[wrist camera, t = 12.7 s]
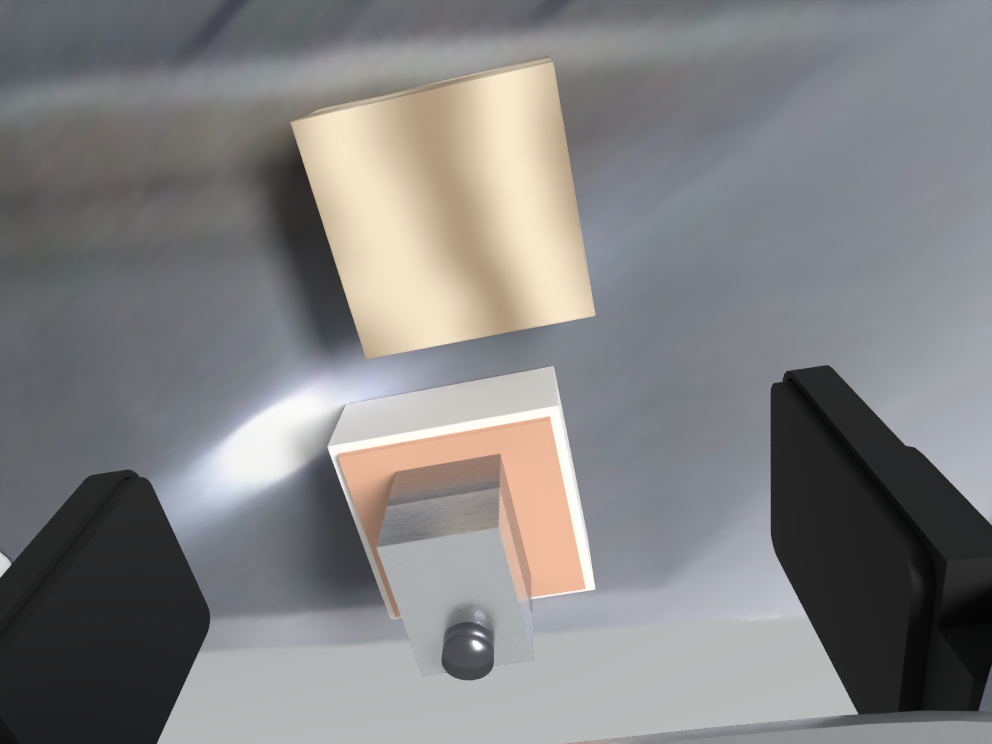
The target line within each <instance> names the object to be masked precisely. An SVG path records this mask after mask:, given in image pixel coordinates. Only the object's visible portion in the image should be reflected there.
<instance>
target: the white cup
mask: <svg viewBox="0 0 992 744" xmlns="http://www.w3.org/2000/svg"><path fill="white" fill-rule="evenodd" d="M10 566H11V562H10V561H9V559H8V558H7V557H6V556H4V555H3V554H2V553H1V552H0V577H1V576H2V575H3V574H4V573H5V571H6V570H7V569H8V568H9V567H10Z"/></svg>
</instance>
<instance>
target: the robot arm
mask: <svg viewBox="0 0 992 744" xmlns="http://www.w3.org/2000/svg"><path fill="white" fill-rule="evenodd" d="M771 537H772V543H773V547H774V550H775V553H776V555H777V558H778V560H779V562H780V564H781V566H782V567H783V569H784V571H785V573H786V575H787V577H788V579H789V581H790V583H791V585H792V587H793V589H794V591H795V593H796V595H797V596H798V598H799V600H800V602H801V604H802V606H803V608H804V610H805V612H806V614H807V616H808V618H809V620H810V621H811V623H812V625H813V627H814V629H815V631H816V633H817V635H818V637H819V639H820V641H821V643H822V645H823V647H824V649H825V651H826V652H827V654H828V656H829V658H830V660H831V662H832V664H833V666H834V668H835V670H836V672H837V674H838V675H839V677H840V679H841V681H842V683H843V685H844V687H845V689H846V691H847V693H848V695H849V697H850V699H851V701H852V703H853V704H854V706H855V708H856V710H857V712H858V714H859V715H843V716H832V717H822V718H809V719H799V720H788V721H779V722H768V723H758V724H747V725H736V726H726V727H715V728H704V729H695V730H686V731H677V732H669V733H660V734H650V735H641V736H632V737H623V738H613V739H604V740H595V741H586V742H577V743H568V744H992V525H991V524H990V523H989V522H988V521H987V520H986V519H985V518H984V517H983V516H982V515H981V514H980V513H979V512H978V511H977V510H976V509H975V508H974V507H973V505H972V504H971V503H970V502H969V501H968V500H967V499H966V498H965V497H964V496H963V495H962V494H961V493H960V492H959V491H958V490H957V489H956V488H955V487H954V486H953V485H952V484H951V483H950V482H949V481H948V480H947V479H946V477H945V476H944V475H943V474H942V473H941V472H940V471H939V470H938V469H937V468H936V467H935V466H934V465H933V464H932V463H931V462H930V461H929V460H928V459H927V458H926V457H925V456H924V455H923V454H922V453H921V452H920V451H918V450H917V449H916V448H914V447H909V446H905V445H904V444H903V443H902V442H901V441H900V439H899V438H898V437H897V436H896V435H895V434H894V433H893V432H892V431H891V430H890V429H889V428H888V427H887V426H886V425H885V424H884V422H883V421H882V420H881V419H880V418H879V417H878V416H877V415H876V414H875V413H874V412H873V411H872V410H871V409H870V408H869V407H868V406H867V404H866V403H865V402H864V401H863V400H862V399H861V398H860V397H859V396H858V395H857V394H856V393H855V392H854V391H853V390H852V389H851V388H850V386H849V385H848V384H847V383H846V382H845V381H844V380H843V379H842V378H841V377H840V376H839V375H838V374H837V373H836V372H835V371H834V369H833V368H831V367H830V366H828V365H826V366H818V367H812V368H805V369H798V370H791V371H787V372H786V373H785V374H784V377H783V382H779V383H774V384H773V385H772V388H771ZM209 624H210V613H209V608H208V606H207V603H206V601H205V599H204V597H203V595H202V592H201V590H200V588H199V586H198V584H197V582H196V580H195V577H194V575H193V573H192V571H191V569H190V567H189V564H188V562H187V560H186V558H185V556H184V554H183V551H182V549H181V547H180V545H179V543H178V541H177V538H176V536H175V534H174V532H173V530H172V528H171V526H170V523H169V521H168V519H167V517H166V515H165V513H164V510H163V508H162V506H161V504H160V502H159V500H158V497H157V495H156V493H155V491H154V489H153V487H152V485H151V483H150V482H149V480H147V479H146V478H144V477H139V476H138V475H137V474H136V473H135V472H134V471H132V470H122V471H115V472H109V473H102V474H95V475H91V476H89V477H88V478H86V479H85V480H84V481H83V482H82V484H81V485H80V486H79V487H78V488H77V489H76V491H75V492H74V493H73V494H72V495H71V496H70V498H69V499H68V500H67V501H66V502H65V503H64V504H63V506H62V507H61V508H60V509H59V510H58V511H57V513H56V514H55V515H54V516H53V517H52V518H51V519H50V521H49V522H48V523H47V524H46V525H45V526H44V528H43V529H42V530H41V531H40V532H39V533H38V534H37V536H36V537H35V538H34V539H33V540H32V541H31V543H30V544H29V545H28V546H27V547H26V548H25V549H24V551H23V552H22V553H21V554H20V555H19V556H18V558H17V559H16V560H15V561H14V562H13V563H12V564H11V566H10V567H9V568H8V569H7V570H6V571H5V573H4V574H3V575H2V576H1V577H0V744H157V742H158V740H159V737H160V735H161V733H162V731H163V728H164V726H165V724H166V722H167V720H168V718H169V716H170V713H171V711H172V709H173V707H174V705H175V702H176V700H177V698H178V696H179V694H180V691H181V689H182V687H183V685H184V683H185V681H186V678H187V676H188V674H189V672H190V670H191V667H192V665H193V663H194V661H195V659H196V657H197V654H198V652H199V650H200V648H201V646H202V643H203V641H204V639H205V637H206V635H207V632H208V629H209Z"/></svg>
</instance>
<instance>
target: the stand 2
mask: <svg viewBox="0 0 992 744" xmlns="http://www.w3.org/2000/svg"><path fill="white" fill-rule="evenodd" d="M327 447H328V450H329V453H330V456H331V458H332V461H333V464H334V466H335V469H336V472H337V475H338V477H339V480H340V483H341V486H342V488H343V491H344V494H345V497H346V499H347V502H348V505H349V508H350V510H351V513H352V516H353V519H354V521H355V524H356V527H357V529H358V532H359V535H360V538H361V540H362V543H363V546H364V549H365V551H366V554H367V557H368V560H369V562H370V565H371V568H372V571H373V573H374V576H375V579H376V581H377V584H378V587H379V590H380V592H381V595H382V598H383V601H384V603H385V606H386V609H387V612H388V614H389V617H390V620H394V619H401V615H400V612H399V610H398V607H397V604H396V601H395V598H394V596H393V593H392V590H391V587H390V584H389V582H388V579H387V576H386V573H385V571H384V568H383V565H382V562H381V559H380V557H379V554H378V551H377V548H376V546H377V543H378V539H379V535H380V531H381V527H382V523H383V520H384V516H385V512H386V508H387V504H388V500H389V496H390V493H391V489H392V485H393V481H394V477H395V473H396V471H402V470H408V469H414V468H420V467H425V466H431V465H437V464H443V463H448V462H454V461H460V460H466V459H472V458H477V457H483V456H489V455H495V454H500V453H501V457H502V461H503V465H504V469H505V473H506V477H507V481H508V485H509V489H510V493H511V497H512V501H513V505H514V509H515V513H516V517H517V521H518V525H519V529H520V533H521V537H522V541H523V545H524V549H525V553H526V557H527V561H528V565H529V569H530V573H531V596H532V599H535V598H542V597H548V596H555V595H562V594H568V593H575V592H582V591H589V590H595V584H594V578H593V571H592V564H591V557H590V550H589V543H588V537H587V532H586V527H585V522H584V517H583V512H582V507H581V502H580V497H579V492H578V486H577V481H576V476H575V471H574V466H573V461H572V456H571V451H570V446H569V441H568V436H567V431H566V426H565V421H564V416H563V411H562V406H561V401H560V396H559V391H558V386H557V381H556V376H555V371H554V366H551V367H546V368H540V369H535V370H530V371H524V372H519V373H513V374H508V375H502V376H497V377H492V378H486V379H481V380H475V381H470V382H464V383H459V384H453V385H448V386H443V387H437V388H432V389H426V390H421V391H415V392H410V393H405V394H399V395H394V396H388V397H383V398H377V399H372V400H366V401H361V402H356V403H350V404H346V405H345V407H344V410H343V412H342V414H341V416H340V419H339V421H338V423H337V426H336V428H335V430H334V432H333V435H332V437H331V439H330V442H329V444H328V446H327Z"/></svg>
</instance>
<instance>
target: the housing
mask: <svg viewBox="0 0 992 744" xmlns="http://www.w3.org/2000/svg"><path fill="white" fill-rule="evenodd" d="M376 548H377V551H378V554H379V557H380V559H381V562H382V565H383V568H384V571H385V573H386V576H387V579H388V582H389V584H390V587H391V590H392V593H393V596H394V598H395V601H396V604H397V607H398V610H399V612H400V615H401V618H402V621H403V624H404V626H405V629H406V632H407V635H408V638H409V640H410V643H411V646H412V649H413V652H414V654H415V657H416V660H417V663H418V666H419V668H420V671H421V674H422V676H428V675H434V674H441V673H448V674H450V675H451V676H453V677H455V678H457V679H461V680H476V679H480V678H482V677H484V676H486V675H487V674H488V673H489V672H490V671H491V670H492V668H493V666H499V665H506V664H513V663H520V662H527V661H533V660H534V657H533V626H532V596H531V573H530V569H529V565H528V561H527V557H526V553H525V549H524V545H523V541H522V537H521V533H520V529H519V525H518V521H517V517H516V513H515V509H514V505H513V501H512V497H511V493H510V489H509V485H508V481H507V477H506V473H505V469H504V465H503V461H502V457H501V453H500V454H495V455H489V456H483V457H477V458H472V459H466V460H460V461H454V462H448V463H443V464H437V465H431V466H425V467H420V468H414V469H408V470H402V471H396V473H395V477H394V481H393V485H392V489H391V493H390V496H389V500H388V504H387V508H386V512H385V516H384V520H383V523H382V527H381V531H380V535H379V539H378V543H377V546H376Z"/></svg>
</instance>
